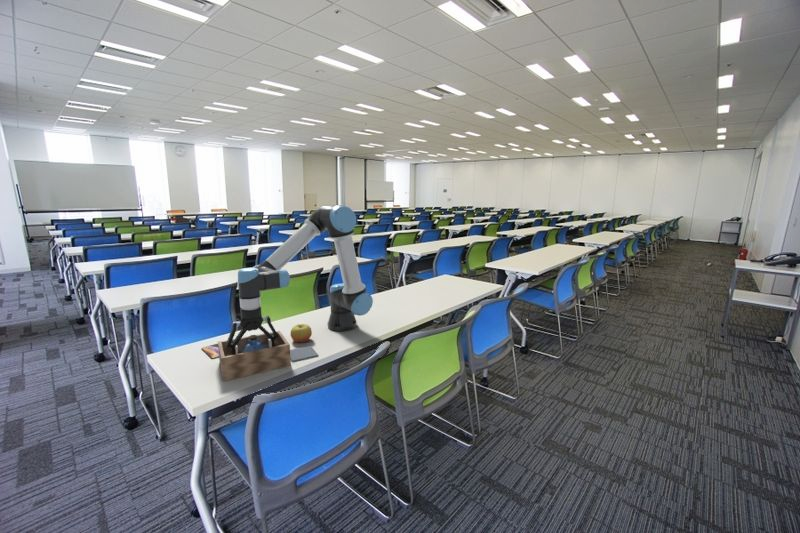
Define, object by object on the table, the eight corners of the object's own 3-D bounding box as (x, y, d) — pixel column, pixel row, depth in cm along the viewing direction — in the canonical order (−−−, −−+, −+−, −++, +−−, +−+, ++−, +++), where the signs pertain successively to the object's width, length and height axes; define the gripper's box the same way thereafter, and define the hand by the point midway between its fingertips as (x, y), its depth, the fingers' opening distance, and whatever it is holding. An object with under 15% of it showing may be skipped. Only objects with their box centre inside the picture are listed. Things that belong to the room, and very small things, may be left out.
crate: (281, 349, 153) (279, 330, 151) (290, 365, 138) (289, 344, 136) (219, 362, 140) (217, 341, 138) (223, 381, 126) (221, 358, 124)
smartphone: (211, 358, 143) (200, 347, 153) (211, 360, 143) (200, 349, 153) (230, 353, 148) (218, 342, 158) (230, 354, 148) (218, 344, 158)
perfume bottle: (266, 361, 141) (264, 334, 139) (256, 368, 135) (254, 340, 133) (253, 359, 143) (251, 332, 141) (243, 366, 137) (240, 338, 135)
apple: (286, 340, 163) (285, 324, 161) (304, 334, 170) (304, 319, 168) (297, 346, 156) (297, 329, 155) (316, 340, 163) (315, 324, 162)
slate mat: (310, 346, 156) (310, 345, 156) (318, 356, 147) (318, 354, 147) (285, 352, 150) (285, 350, 150) (292, 362, 141) (292, 360, 141)
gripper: (280, 300, 144) (283, 348, 148) (215, 309, 132) (220, 361, 136) (284, 305, 138) (287, 355, 142) (216, 314, 125) (221, 369, 129)
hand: (254, 358), depth 139 cm, fingers open, 12 cm apart
